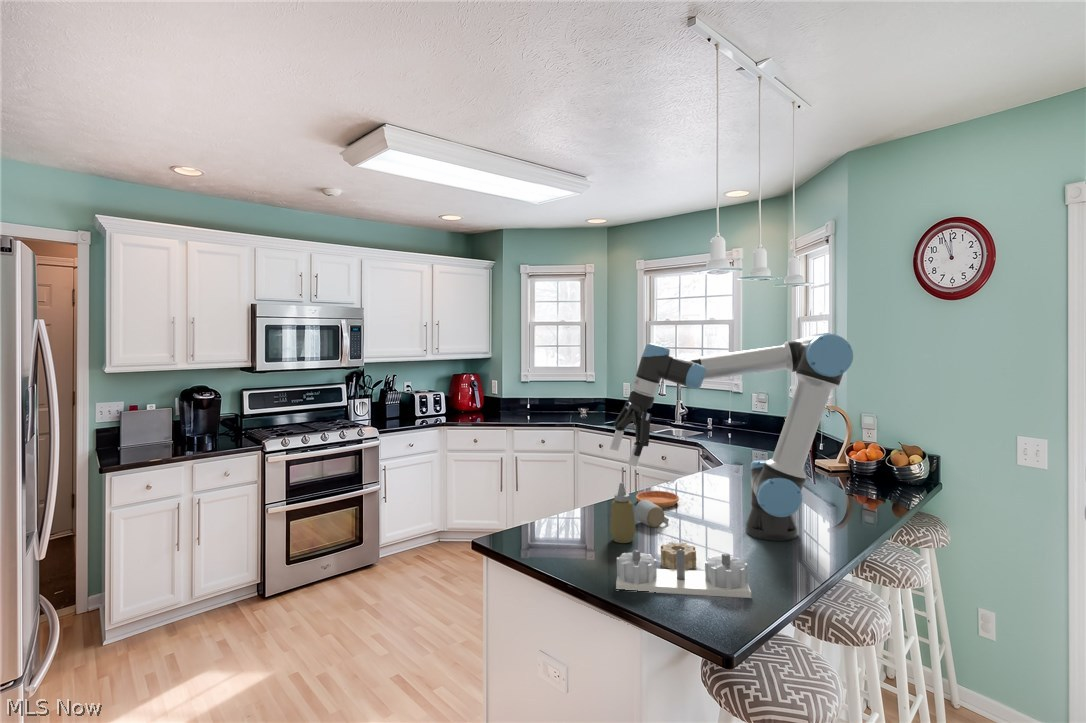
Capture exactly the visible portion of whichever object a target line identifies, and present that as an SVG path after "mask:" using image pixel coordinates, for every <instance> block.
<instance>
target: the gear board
mask: <svg viewBox="0 0 1086 723" xmlns="http://www.w3.org/2000/svg"><path fill="white" fill-rule="evenodd" d="M676 560H677V570H672V569H670V568H668V569H666V568H657V558H654V557H653V555H652V554H650V553H644V552H641V550H639V549H633V550H632V552H623V553H621V555H620V556H617V557H616V581H615V590H616V589H625V590H638V591H649V592H648V593H654V592H656V594H657V593H658V594H673V595H675V594H676V595H691V596H692V595H693V596H694V595H695V596H696V595H697V596H707V597H710V596H711V597H724V598H725V597H727V598H741V599H742V598H743V599H744V598H746V599H752V590H751V588H750V586H749V581H748V578H749V576H748V575H749V573H748V563H747V562H744V561H743V560H741V558H739V557H733V556H732V557H731V555H730V554H729V553H722V554H720V555H719V556H709V557H707V560H705V561H704V570H691V569H688V570H685V553H684V551H683V550H682V549H678V550H677V552H676Z"/></svg>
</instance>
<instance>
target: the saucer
mask: <svg viewBox="0 0 1086 723" xmlns="http://www.w3.org/2000/svg"><path fill="white" fill-rule="evenodd" d="M635 500H636V501H637V502H640V501H641V500H648V501H650V502H652V503H654V504H655V505H657V506H659V507H660V508H661V509H666V507H668V508H672V507H674V506H675V505H676V504H677V503H678V502H679V495H677V494H676V493H673V492H670V491H664V490H647V491H646V490H645V491H642V492H639V493H637V494H636V495H635ZM673 505H674V506H673ZM671 506H672V507H671Z"/></svg>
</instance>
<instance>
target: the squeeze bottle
mask: <svg viewBox="0 0 1086 723" xmlns="http://www.w3.org/2000/svg"><path fill="white" fill-rule="evenodd" d="M633 505H634V504H633V502H632V501H631V500H630V494H629V493H627V491H626V487H625V483H624V482H619V485H618V490H617V492H616V493H615V494H614V500H613V501H612V502H611V509H610V510H611V511H610V521H609V522H610V523H609V532H610V534H611V536H612V541H613V542H615V543H619V544H630V543H632V541H633V539H634V537H635V533H636V528H637V527H636V521H635V513H634V512H635V511H634V506H633Z"/></svg>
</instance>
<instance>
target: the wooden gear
mask: <svg viewBox="0 0 1086 723" xmlns="http://www.w3.org/2000/svg"><path fill="white" fill-rule="evenodd" d="M678 549H682V550H683V551H684V553H685V570H691V569H696V568H697V550H696V546H694V545H689V544H687V542H674V541H672V542H668V543H667V544H661V545H660V563H661V565H662V566H661V565H660V566H661V567H662V568H668V569H672V570H677V560H676V552H677V550H678Z"/></svg>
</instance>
